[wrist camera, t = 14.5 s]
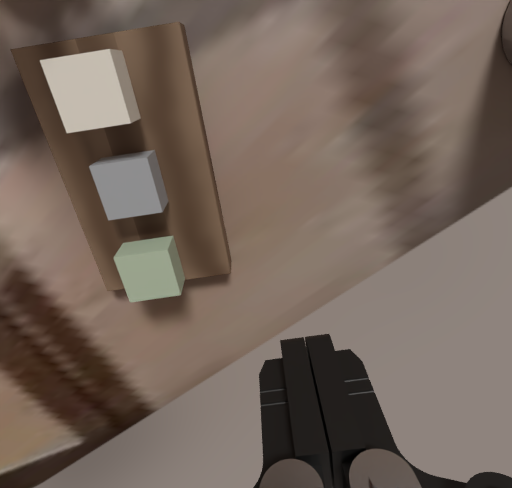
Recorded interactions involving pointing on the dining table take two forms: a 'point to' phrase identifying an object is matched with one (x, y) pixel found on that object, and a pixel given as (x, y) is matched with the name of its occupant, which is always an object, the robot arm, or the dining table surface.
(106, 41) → the key panel
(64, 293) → the dining table surface
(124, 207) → the grey squarish block
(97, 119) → the cream block
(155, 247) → the sage key
